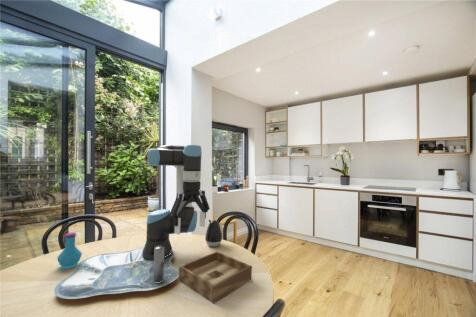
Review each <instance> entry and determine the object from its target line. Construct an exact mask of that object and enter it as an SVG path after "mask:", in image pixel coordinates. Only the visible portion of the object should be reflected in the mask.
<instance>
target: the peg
mask: <svg viewBox="0 0 476 317" xmlns="http://www.w3.org/2000/svg"><path fill="white" fill-rule="evenodd" d="M164 268H165V258H164V246H156V247H155V248H154V260H153V281H154V282H160V281H162V280H163V279H164V278H165V277H164V273H165V269H164ZM153 281H152V282H153ZM163 281H164V280H163ZM154 282H153V283H154Z"/></svg>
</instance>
